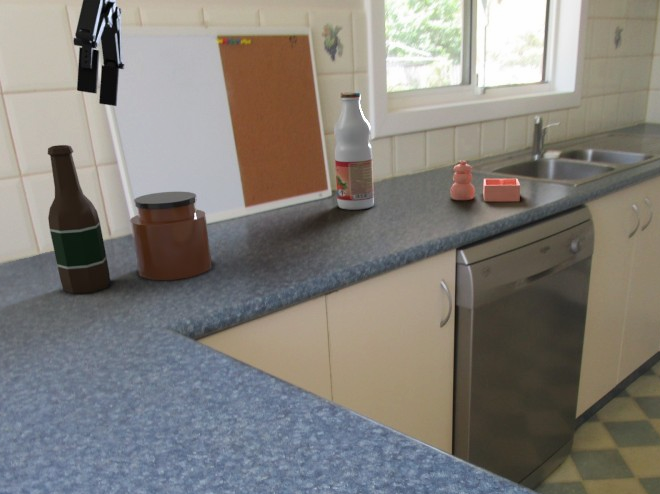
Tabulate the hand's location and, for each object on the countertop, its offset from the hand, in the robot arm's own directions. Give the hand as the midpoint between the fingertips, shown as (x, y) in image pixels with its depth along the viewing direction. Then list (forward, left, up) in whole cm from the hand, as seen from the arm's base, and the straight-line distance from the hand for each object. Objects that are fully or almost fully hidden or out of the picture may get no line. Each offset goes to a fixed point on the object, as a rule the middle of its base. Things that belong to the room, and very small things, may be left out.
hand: (98, 99), depth 110 cm
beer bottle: (+5, -7, -31) cm, 32 cm away
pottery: (-29, +89, -31) cm, 99 cm away
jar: (+1, +8, -31) cm, 32 cm away
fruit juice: (-35, +55, -31) cm, 73 cm away
